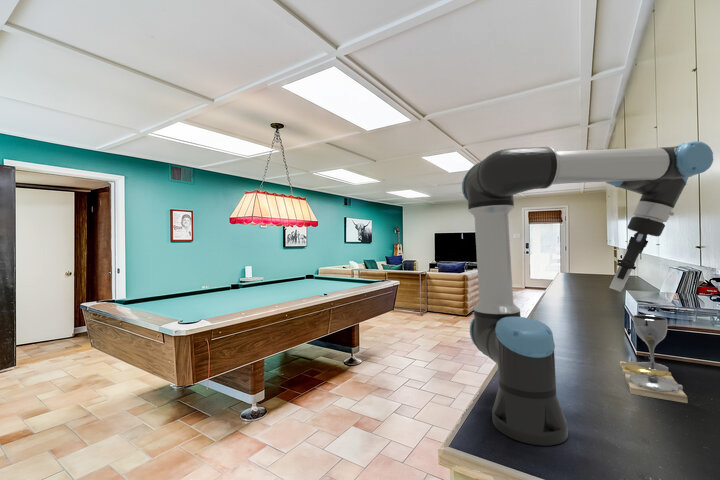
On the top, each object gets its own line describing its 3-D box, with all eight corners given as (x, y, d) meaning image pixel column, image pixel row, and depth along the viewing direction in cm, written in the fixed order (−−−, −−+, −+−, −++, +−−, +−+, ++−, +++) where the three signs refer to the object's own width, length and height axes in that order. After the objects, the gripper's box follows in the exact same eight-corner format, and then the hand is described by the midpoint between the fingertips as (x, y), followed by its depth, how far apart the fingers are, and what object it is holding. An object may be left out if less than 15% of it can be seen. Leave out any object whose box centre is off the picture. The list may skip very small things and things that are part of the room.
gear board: (689, 403, 81) (688, 389, 81) (629, 393, 87) (628, 380, 87) (666, 371, 101) (665, 360, 101) (619, 365, 107) (618, 355, 107)
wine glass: (657, 361, 103) (654, 314, 104) (677, 371, 95) (674, 320, 96) (629, 361, 104) (626, 314, 105) (647, 370, 97) (644, 320, 97)
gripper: (669, 218, 79) (630, 297, 83) (663, 227, 98) (632, 291, 102) (631, 210, 84) (597, 284, 88) (633, 220, 103) (604, 281, 107)
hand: (616, 288), depth 95 cm, fingers open, 13 cm apart
